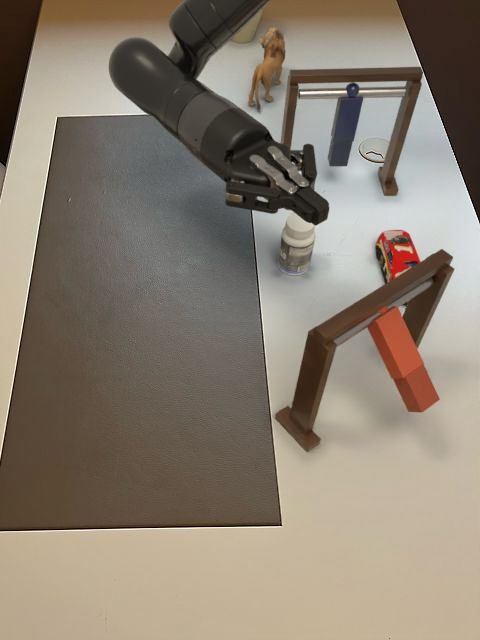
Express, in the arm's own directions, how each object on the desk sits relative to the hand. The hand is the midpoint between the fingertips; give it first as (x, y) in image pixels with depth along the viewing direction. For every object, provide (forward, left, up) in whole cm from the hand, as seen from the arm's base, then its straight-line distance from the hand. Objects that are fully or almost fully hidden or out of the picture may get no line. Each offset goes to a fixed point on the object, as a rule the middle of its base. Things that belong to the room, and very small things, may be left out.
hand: (323, 216), depth 66 cm
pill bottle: (+5, -14, -22) cm, 27 cm away
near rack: (-9, +5, -22) cm, 24 cm away
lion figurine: (+25, -56, -22) cm, 65 cm away
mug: (+37, -72, -22) cm, 84 cm away
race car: (-9, -18, -22) cm, 30 cm away
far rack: (+5, -34, -22) cm, 41 cm away
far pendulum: (+5, -34, -18) cm, 39 cm away
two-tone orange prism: (-17, +10, -13) cm, 23 cm away
